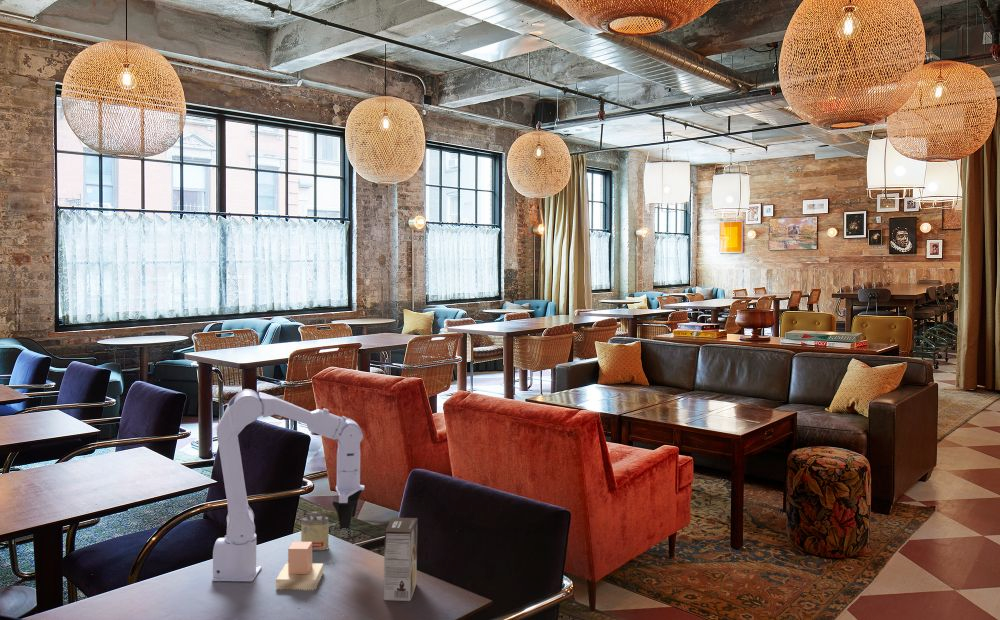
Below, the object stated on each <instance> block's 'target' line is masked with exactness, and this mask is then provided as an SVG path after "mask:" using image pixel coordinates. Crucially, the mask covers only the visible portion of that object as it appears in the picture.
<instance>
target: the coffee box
mask: <svg viewBox="0 0 1000 620" xmlns="http://www.w3.org/2000/svg"><path fill="white" fill-rule="evenodd" d="M418 519H419V518H418V517H391V518H390V520H389V522H388V524H387V527H386V529H385V531H384V557H383V559H384V560H383V561H384V565H383V566H384V567H383V571H384V572H383V578H384V579H383V600H384V601H397V602H398V601H400V602H401V601H402V602H403V601H404V602H410V601H412V598H413V596H414V592H415V589H416V585H417V575H418V574H417V571H418V570H417V568H418V567H417V566H418V564H417V563H418Z"/></svg>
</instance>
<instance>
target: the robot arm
mask: <svg viewBox="0 0 1000 620" xmlns="http://www.w3.org/2000/svg"><path fill="white" fill-rule="evenodd" d="M261 414H262V418H267V417H271V416H274V415H276V416H280V417H282V418H286V419H289V420H292V421H295V422H298V423H301V424H305V425H306V427H307V430H308V432H311V433H314V434H317V435H319V436H322V437H325V438H327V439H331V440H337V449H336V450H337V451H336V485H335V491H336V493H337V495H338V498H334V499H333V500H332V506H333V507H334V509H335V511H336V514H337V518H338V523H339V526H340V527H339V528H341V529H350V527H351V522H352V518H355V515H356V513H357V508H358V502H359V498H360V496H361V493H362V491H364V490H365V485H364V484H361V483H360V482H361V442H362V441H363V438H364V434H363V432H362V429H361V427H360V425H359V424H358V423H357V422H356V421H355V420H353V419H352V418H351V417H346V416H344V415H342V416H339V415H336V414H333V413H330V411H329V409H328V408H325V407H323V409H320V408H316V409H314V410H311V411H310V410H308V409H305V408H303V407H300V406H298V405H295V404H294V403H291V402H289V401H286V400H283V399H282V398H279V397H276V396H274V395H271V394H267V393H265V392H261V391H259V392H257V391H255V390H254V389H249V388H244V389H242V390H240V391H238V392H237V393H236V394H235V395H234V396H233V397H232V398H230V400H229V401H228V403H227V406H226V408H225V410H224V412H223V414H222V416H221V418H220V420H219V422H218V424H217V426H216V437H217V444H218V451H219V457H220V458H219V459H220V464H221V470H222V476H223V483H224V490H225V496H226V503H227V515H226V535H224V537H218V538H217V539H216V541H214V542H215V543H214V545H213V549H212V577H211V581H212V582H253V581H254V579H255V578H257V577H256V576H258V573H260V571H261V570H262V565H257V533H256V524H255V521H254V519H255V513H254V511H253V509H252V508H251V507H250V505H249V502H248V496H247V490H246V489H247V488H246V483H245V482H246V481H245V477H244V476H245V475H244V469H243V462H242V455H241V450H240V449H241V448H240V442H239V434H240V433H241V432H242V431H243V430H244V428H246V426H248V425H249V424H251V423H253V422H255V421H256V420H258V418H260V416H261Z"/></svg>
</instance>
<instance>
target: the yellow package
mask: <svg viewBox="0 0 1000 620" xmlns="http://www.w3.org/2000/svg"><path fill="white" fill-rule="evenodd" d="M300 524H301V526H300V527H301V531H300V532H301V535H300V536H301V538H300V542H312V551H325V550H324V549H326V550H328V549H329V548H328V547H330V546H329V536H330V535H329V529H330V527H329V525H330V523H329V516H326V510H325V509H324V510H321V511H320V510H319V511H313V510H312V511H311V510H307V511H306V516H304V517H302V518H301V523H300ZM327 548H328V549H327Z"/></svg>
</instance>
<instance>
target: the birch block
mask: <svg viewBox="0 0 1000 620" xmlns="http://www.w3.org/2000/svg"><path fill="white" fill-rule="evenodd" d="M322 574H323V575H324V563H322V562H321V563H313V562H312V568H311V569H310V571H309V573H308V574H288V562H286V563H285V564H284V565H283V567H282V569H281V570H280V572H279V574H278V576H277V577H276V578H275V590H276V589H280V590H279V591H284V590H283V589H287V590H286V591H316V590H317V589H318V586H319V584H320V582H321V580H320V579H322V578H321V576H322V577H323V575H322ZM319 581H320V582H319ZM318 583H319V584H318ZM317 585H318V586H317ZM281 589H282V590H281ZM289 589H290V590H289ZM291 589H292V590H291ZM296 589H297V590H296ZM298 589H299V590H298ZM300 589H301V590H300ZM302 589H303V590H302ZM307 589H308V590H307ZM309 589H310V590H309ZM311 589H312V590H311ZM313 589H315V590H313Z"/></svg>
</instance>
